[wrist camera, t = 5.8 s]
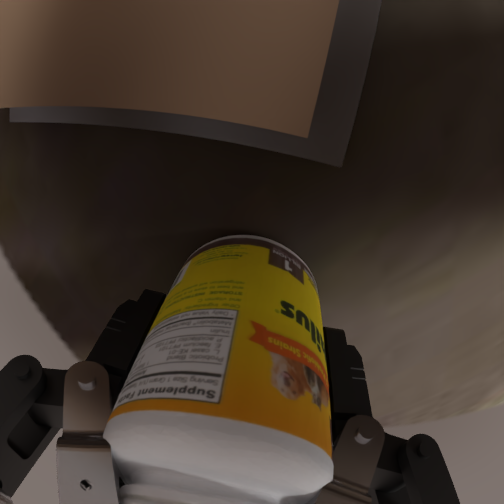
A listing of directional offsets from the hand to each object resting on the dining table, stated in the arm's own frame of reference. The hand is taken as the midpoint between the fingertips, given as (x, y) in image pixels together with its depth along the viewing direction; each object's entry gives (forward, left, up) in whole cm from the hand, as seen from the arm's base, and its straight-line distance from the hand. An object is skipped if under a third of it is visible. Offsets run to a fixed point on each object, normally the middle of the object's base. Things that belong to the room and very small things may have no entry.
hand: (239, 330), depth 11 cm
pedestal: (+4, -12, -2) cm, 13 cm away
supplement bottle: (0, 0, -2) cm, 2 cm away
